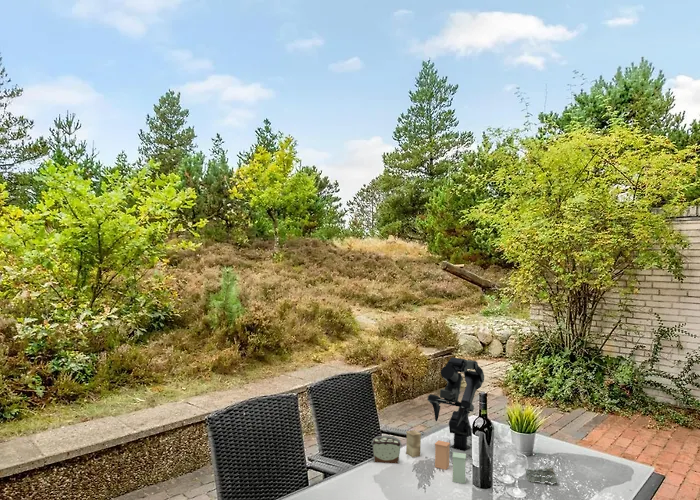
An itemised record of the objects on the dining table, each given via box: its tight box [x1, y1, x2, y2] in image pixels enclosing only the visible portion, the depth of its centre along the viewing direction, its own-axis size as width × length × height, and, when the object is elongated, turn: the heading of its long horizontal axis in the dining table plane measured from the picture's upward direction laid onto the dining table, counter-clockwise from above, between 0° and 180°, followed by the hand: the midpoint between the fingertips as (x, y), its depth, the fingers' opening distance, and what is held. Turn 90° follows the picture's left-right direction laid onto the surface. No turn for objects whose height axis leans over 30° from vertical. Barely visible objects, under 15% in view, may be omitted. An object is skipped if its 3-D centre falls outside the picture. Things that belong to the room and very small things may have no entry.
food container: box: [370, 435, 403, 465], centre depth 185 cm, size 12×6×10 cm, turn 84°
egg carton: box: [524, 466, 558, 483], centre depth 173 cm, size 11×8×4 cm
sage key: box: [451, 451, 467, 484], centre depth 169 cm, size 4×5×9 cm
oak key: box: [405, 429, 422, 459], centre depth 190 cm, size 4×5×9 cm
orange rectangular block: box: [434, 440, 451, 471], centre depth 180 cm, size 4×5×9 cm
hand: (446, 423), depth 188 cm, fingers open, 9 cm apart
